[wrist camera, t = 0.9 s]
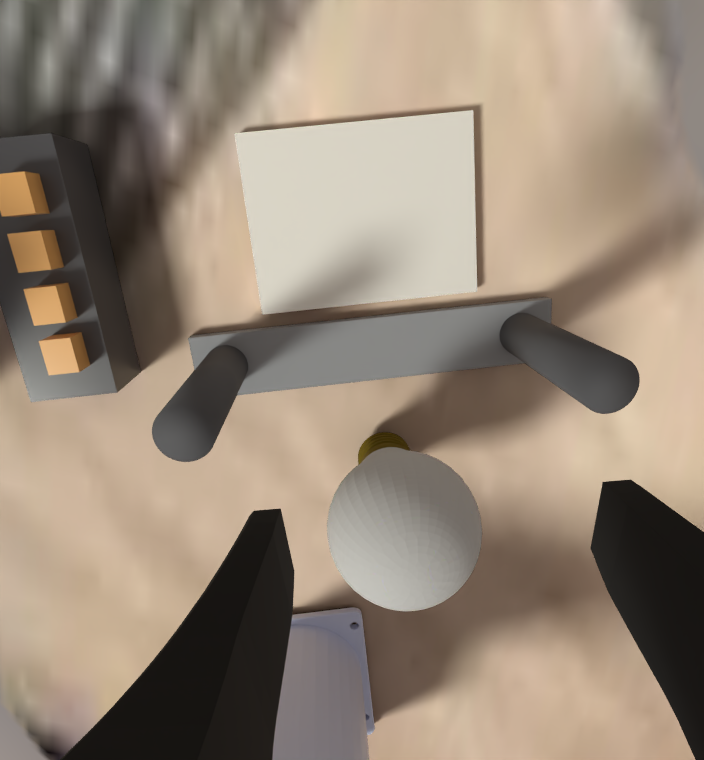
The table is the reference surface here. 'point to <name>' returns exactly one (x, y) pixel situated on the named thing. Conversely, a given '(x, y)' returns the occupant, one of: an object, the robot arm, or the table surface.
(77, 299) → the terminal block
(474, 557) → the light bulb
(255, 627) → the robot arm
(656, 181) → the table surface
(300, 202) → the mat
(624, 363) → the cable posts
